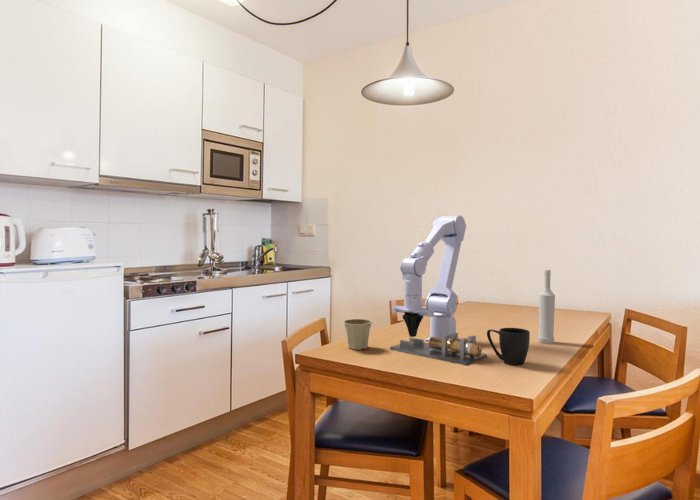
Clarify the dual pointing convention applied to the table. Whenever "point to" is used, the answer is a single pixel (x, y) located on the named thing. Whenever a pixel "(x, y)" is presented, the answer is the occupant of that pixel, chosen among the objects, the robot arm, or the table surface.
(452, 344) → the copper tube
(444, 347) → the collar
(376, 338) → the table surface
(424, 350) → the firebox plate
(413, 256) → the robot arm
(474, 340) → the collar
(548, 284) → the bottle
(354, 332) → the flower pot
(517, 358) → the mug
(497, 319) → the table surface
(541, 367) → the table surface
